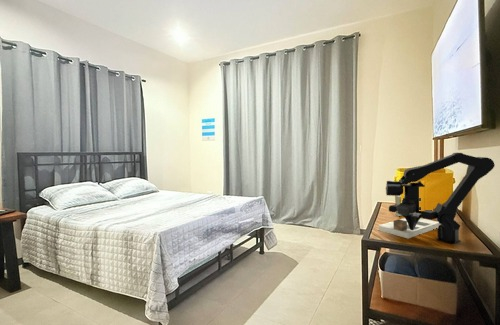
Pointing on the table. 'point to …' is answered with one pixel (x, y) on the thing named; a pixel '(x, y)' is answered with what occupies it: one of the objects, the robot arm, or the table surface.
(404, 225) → the walnut block
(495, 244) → the table surface
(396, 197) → the skincare box
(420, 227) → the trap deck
